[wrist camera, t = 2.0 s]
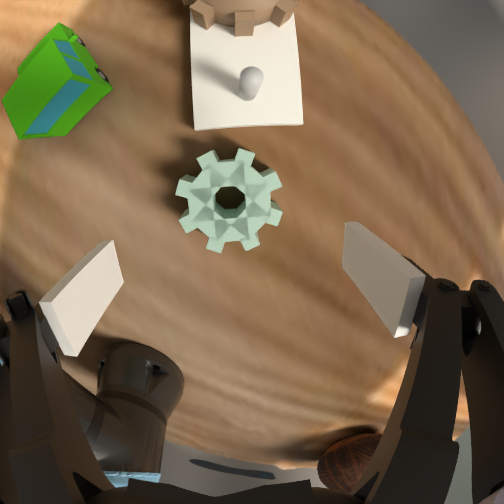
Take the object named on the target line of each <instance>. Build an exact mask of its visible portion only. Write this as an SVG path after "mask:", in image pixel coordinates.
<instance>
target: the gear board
mask: <svg viewBox="0 0 504 504" xmlns="http://www.w3.org/2000/svg"><path fill="white" fill-rule="evenodd" d="M295 1H299V0H182V2H183V4H184V5H190V7H189V8H190V41H191V74H192V95H193V113H194V128H195V130H196V131H201V130H210V129H221V128H233V127H249V126H276V125H302V124H303V111H302V95H301V81H300V69H299V58H298V47H297V38H296V29H295V21H294V13H293V12H294V10H295V8H296V6H297V3H296V2H295Z"/></svg>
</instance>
